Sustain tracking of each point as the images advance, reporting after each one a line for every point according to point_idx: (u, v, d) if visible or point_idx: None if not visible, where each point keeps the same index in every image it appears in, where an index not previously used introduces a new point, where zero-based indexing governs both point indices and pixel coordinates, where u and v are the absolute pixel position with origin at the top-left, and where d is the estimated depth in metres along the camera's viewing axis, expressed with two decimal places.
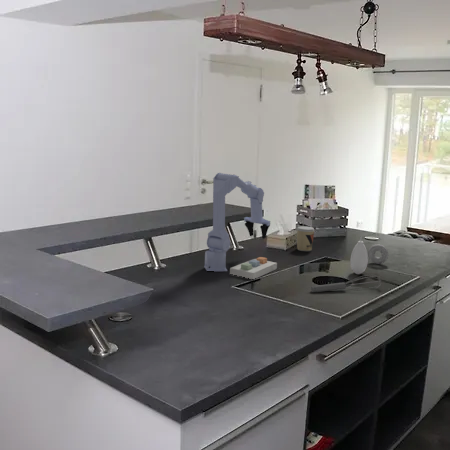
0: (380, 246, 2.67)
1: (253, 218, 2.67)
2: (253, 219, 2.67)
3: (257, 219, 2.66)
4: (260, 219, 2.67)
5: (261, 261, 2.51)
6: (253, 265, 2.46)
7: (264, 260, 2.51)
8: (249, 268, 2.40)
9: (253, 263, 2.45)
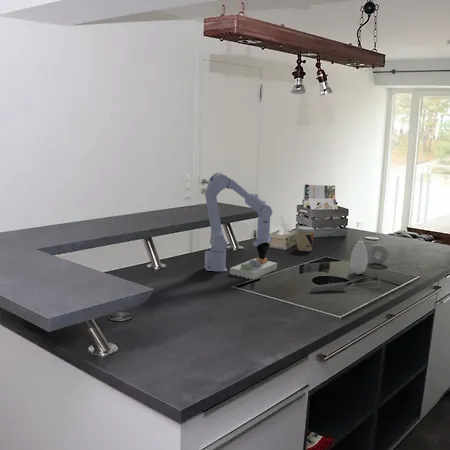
0: (380, 246, 2.67)
1: None
2: None
3: (257, 237, 2.50)
4: (258, 238, 2.49)
5: (261, 261, 2.51)
6: (253, 265, 2.46)
7: (264, 260, 2.51)
8: (249, 268, 2.40)
9: (253, 263, 2.45)
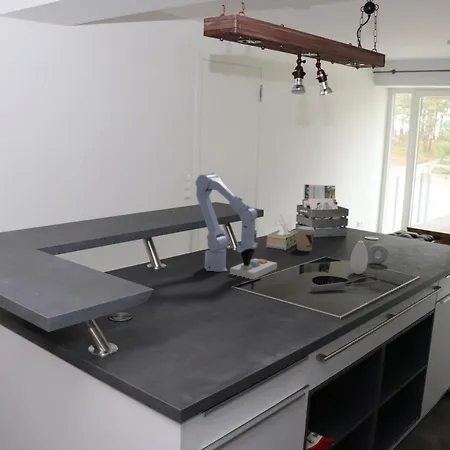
0: (380, 246, 2.67)
1: None
2: None
3: (241, 243, 2.39)
4: (242, 244, 2.38)
5: (261, 263, 2.51)
6: (253, 265, 2.46)
7: (264, 262, 2.52)
8: (249, 269, 2.40)
9: (253, 263, 2.45)
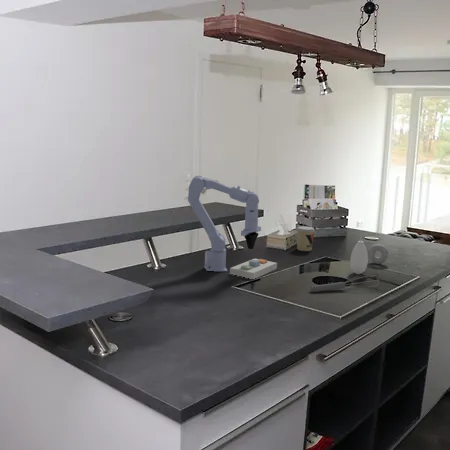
0: (380, 246, 2.67)
1: None
2: None
3: (245, 226, 2.45)
4: (246, 228, 2.44)
5: (261, 263, 2.51)
6: (253, 265, 2.46)
7: (264, 262, 2.52)
8: None
9: (253, 263, 2.45)
